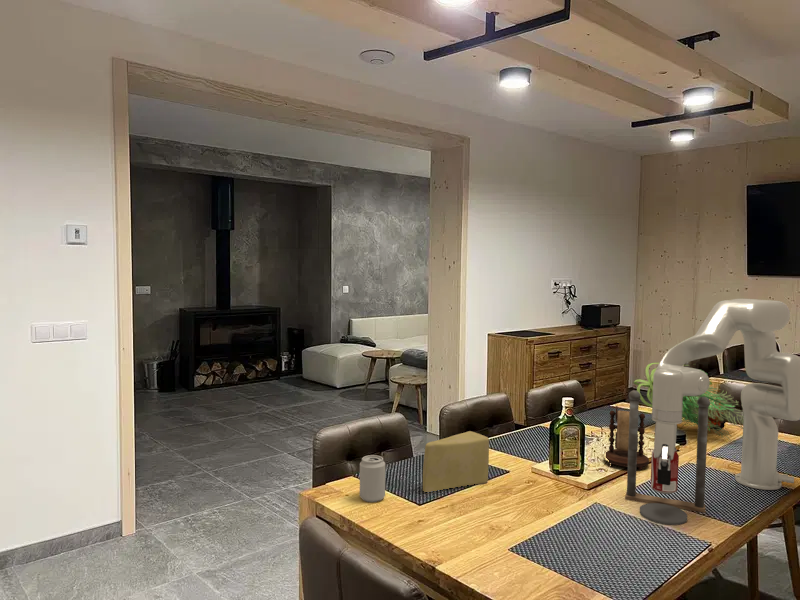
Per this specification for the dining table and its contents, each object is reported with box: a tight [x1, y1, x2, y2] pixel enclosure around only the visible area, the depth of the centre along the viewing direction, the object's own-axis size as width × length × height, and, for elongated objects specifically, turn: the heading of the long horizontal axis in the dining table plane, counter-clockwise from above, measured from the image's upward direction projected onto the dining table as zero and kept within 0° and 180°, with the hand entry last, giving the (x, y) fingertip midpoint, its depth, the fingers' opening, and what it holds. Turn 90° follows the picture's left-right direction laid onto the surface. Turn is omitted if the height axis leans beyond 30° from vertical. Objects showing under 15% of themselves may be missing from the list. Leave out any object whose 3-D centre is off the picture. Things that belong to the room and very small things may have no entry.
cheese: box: [422, 430, 490, 493], centre depth 186 cm, size 22×10×15 cm, turn 125°
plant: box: [632, 362, 743, 441], centre depth 248 cm, size 35×35×40 cm
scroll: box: [605, 405, 650, 471], centre depth 207 cm, size 15×15×20 cm
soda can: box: [650, 447, 680, 495], centre depth 165 cm, size 7×7×12 cm
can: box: [359, 454, 386, 503], centre depth 176 cm, size 8×8×12 cm
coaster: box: [639, 503, 688, 526], centre depth 166 cm, size 12×12×1 cm
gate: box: [624, 389, 711, 514], centre depth 173 cm, size 21×4×32 cm, turn 64°
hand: (664, 479), depth 165 cm, fingers closed on soda can, 6 cm apart
